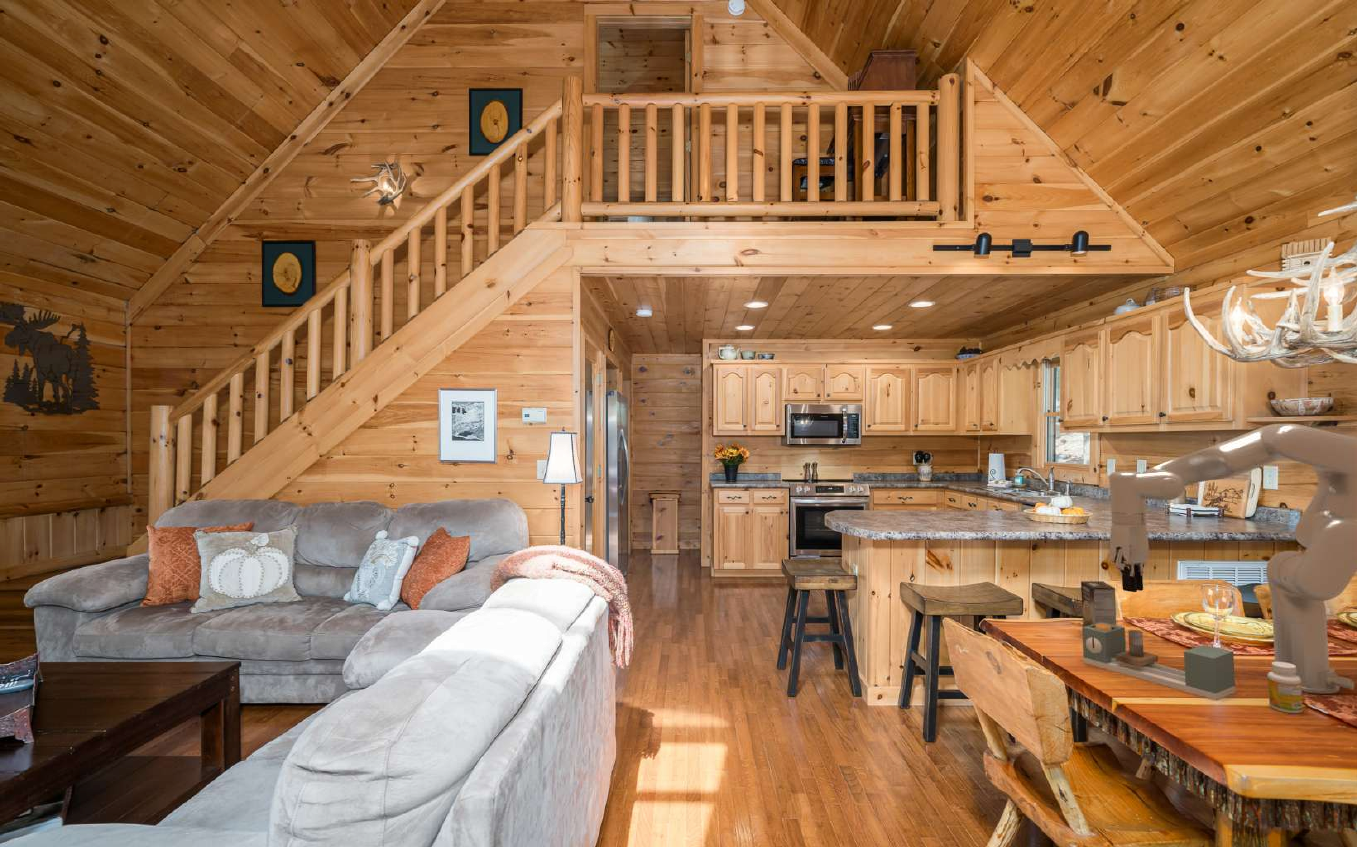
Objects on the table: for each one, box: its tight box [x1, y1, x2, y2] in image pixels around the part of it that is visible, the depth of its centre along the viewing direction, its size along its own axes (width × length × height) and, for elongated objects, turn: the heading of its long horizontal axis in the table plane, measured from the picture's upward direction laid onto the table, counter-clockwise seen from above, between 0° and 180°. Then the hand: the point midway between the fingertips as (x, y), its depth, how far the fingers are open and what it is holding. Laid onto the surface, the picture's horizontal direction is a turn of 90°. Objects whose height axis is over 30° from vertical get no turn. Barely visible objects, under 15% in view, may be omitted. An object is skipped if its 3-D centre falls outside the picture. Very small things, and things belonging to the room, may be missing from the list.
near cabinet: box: [1183, 644, 1236, 694], centre depth 156 cm, size 7×9×8 cm
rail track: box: [1083, 657, 1236, 701], centre depth 166 cm, size 30×9×2 cm, turn 28°
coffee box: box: [1080, 580, 1117, 627], centre depth 198 cm, size 9×6×16 cm
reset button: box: [1095, 624, 1111, 631], centre depth 177 cm, size 4×4×3 cm
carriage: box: [1115, 629, 1159, 667], centre depth 170 cm, size 6×8×8 cm
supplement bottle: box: [1267, 661, 1304, 714], centre depth 145 cm, size 5×5×10 cm
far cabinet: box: [1081, 622, 1127, 664], centre depth 176 cm, size 6×10×8 cm, turn 118°
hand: (1132, 589), depth 170 cm, fingers closed
